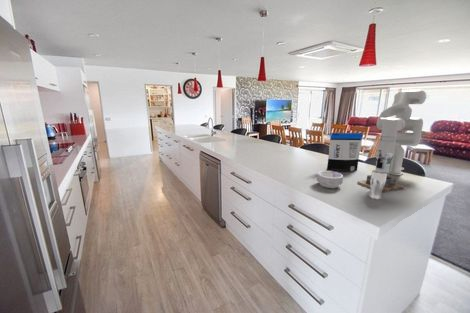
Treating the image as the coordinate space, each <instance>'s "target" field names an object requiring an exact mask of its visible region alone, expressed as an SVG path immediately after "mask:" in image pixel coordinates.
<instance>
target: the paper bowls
mask: <svg viewBox="0 0 470 313" xmlns="http://www.w3.org/2000/svg"><path fill="white" fill-rule="evenodd" d="M343 180H344V175H343V174H342V173H341V172H337V171H330V170H321V171H318V172H317V173H316V182H318V183H319V184H320V186H322V187H324V188H327V189H336V188H338V187H339V186H341V185H342V184H343V183H344V182H343Z"/></svg>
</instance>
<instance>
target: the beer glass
mask: <svg viewBox="0 0 470 313" xmlns="http://www.w3.org/2000/svg"><path fill="white" fill-rule="evenodd" d="M371 171H372V172H371V174H370V175H371V180H370V185H371V189H370V190H369V194H368V198H369V199H372V200H377V201H381V200H382V197H383V196H382V193H383V192H382V190H383V188H384V186H385V183H386V176H388V175H387V173H386V172H384V171H379V170H374V169H373V170H371Z"/></svg>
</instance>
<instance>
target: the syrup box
mask: <svg viewBox="0 0 470 313" xmlns="http://www.w3.org/2000/svg"><path fill="white" fill-rule="evenodd" d="M392 154H393V153H386V157H385V158H384V159H383V161H382V162H383V165H382V169H380V168H377V167H376V166H377V161H376V162H375V170H379V171H384V172H386V173H387V175H386V176H389V175H390V174H389V172H390V166H391V160H392ZM380 157H382V156H380ZM380 159H381V158H380Z"/></svg>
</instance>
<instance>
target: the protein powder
mask: <svg viewBox="0 0 470 313" xmlns="http://www.w3.org/2000/svg"><path fill="white" fill-rule="evenodd" d="M329 137H330V138H329V145H328V146H329V147H328V148H329V149H328V156H327V157H328V159H327V164H326V166H327V167H326V171H333V172H337V173H349V172H350V173H351V172H355V171H358V168H359V166H358V164H359V159H360V153H361V148H362V140H363V132H330V136H329Z"/></svg>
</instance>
